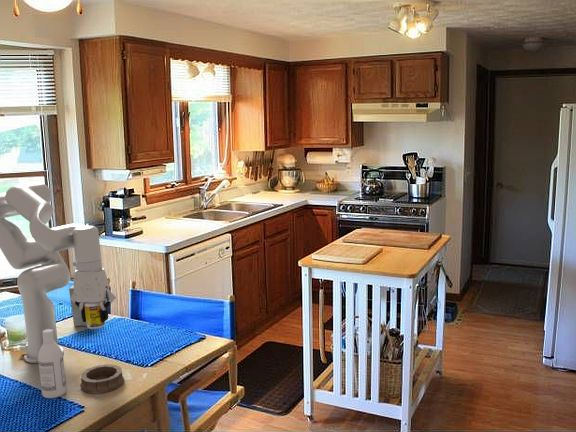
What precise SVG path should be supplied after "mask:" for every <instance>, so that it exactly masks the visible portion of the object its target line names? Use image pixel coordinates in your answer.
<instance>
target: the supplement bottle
mask: <svg viewBox="0 0 576 432" xmlns="http://www.w3.org/2000/svg"><path fill="white" fill-rule="evenodd" d="M84 306H85V315H86V324H87V326H86V327H87V329H90V330H94V329H95V330H96V329H101V328H103V327H104V326H105V323H106V321H105V322H104V323H102V322H101V316H100V311H101V310H102V309H101V307H100V305H99V303H85V304H84Z"/></svg>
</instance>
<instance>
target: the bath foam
mask: <svg viewBox="0 0 576 432" xmlns="http://www.w3.org/2000/svg"><path fill="white" fill-rule="evenodd" d="M42 333H43V342H44V343H43V345H42V347H41V349H40V351H39V354H38V363H37V365H38V371H39V372H38V373H39V381H40V389H41V395H42V397H44V398H45V399H55V398H59V397H61V396H63V395H64V394H65V393H66V392H67V381H66V370H65V361H64V352H63V353H62V350H61V348H60V347H61V346H60V345H59V344H58V345H57V344H56V343H55V342H54V335H53V330H52V329H46V330H44V331H43V332H42ZM59 346H60V347H59Z"/></svg>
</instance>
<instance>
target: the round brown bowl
mask: <svg viewBox="0 0 576 432" xmlns="http://www.w3.org/2000/svg"><path fill="white" fill-rule="evenodd" d="M80 380H81V381H80V386H79V387H80V390H81V391H82V392H83V393H85V394H88V395H101V394H106V393H110V392H113V391H116V390H117V389H120V388H121V387H122V386H123V385H124V383H125V377H124V376H123V369H122V366H119V365H116V364H110V363H109V364H108V363H107V364H106V363H105V364H99V365H95V366H91V367H89V368H87V369H85V370H84V371H83V372H82V373H81V375H80Z"/></svg>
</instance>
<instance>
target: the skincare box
mask: <svg viewBox="0 0 576 432" xmlns="http://www.w3.org/2000/svg"><path fill="white" fill-rule="evenodd" d="M68 293H69V298H70V297H71V296H72V295H73V293H74V284H72V285H71V287H69V288H68ZM70 305H71V306H70V307H71V313H72V323H73V326H74V327H87V324H86V322H83V319H82V316H81V310H79V307H78V306H77V305H76V304H75V303H74V302H73V301H72V300H70Z"/></svg>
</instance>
